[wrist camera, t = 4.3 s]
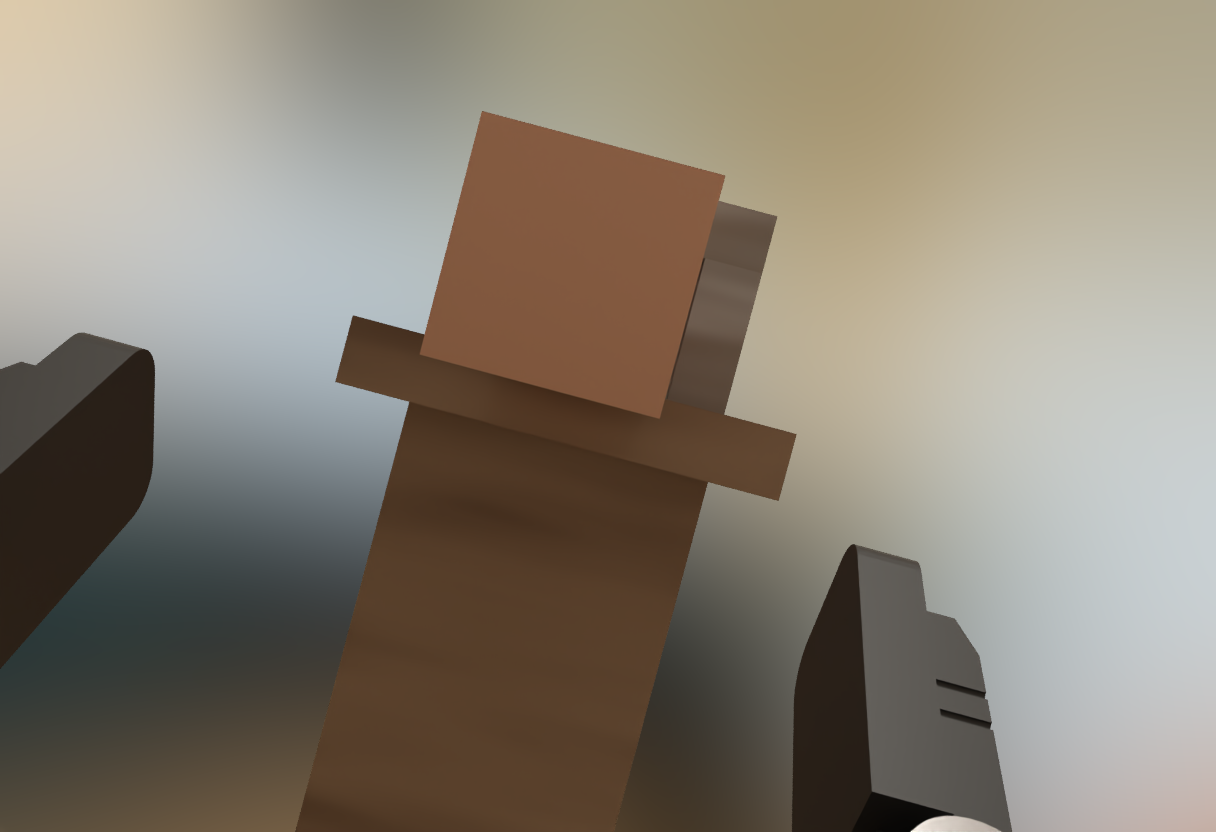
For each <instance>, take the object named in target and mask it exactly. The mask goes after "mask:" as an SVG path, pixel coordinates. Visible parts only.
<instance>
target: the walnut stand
mask: <svg viewBox="0 0 1216 832" xmlns="http://www.w3.org/2000/svg"><path fill="white" fill-rule="evenodd" d="M776 220H777V216H774V215H770V214H765V213H762V212H758V211H755V210H751V209H747V208H743V207H740V206H736V205H732V204H728V203H724V202H721V201H718V205H717V209H716V212H715V216H714V220H713V223H712V227H711V231H710V234H709V238H708V242H707V246H706V249H705V253H704V257H703V260H702V264H701V268H700V271H699V275H698V279H697V283H696V286H695V290H694V294H693V297H692V301H691V305H690V308H689V312H688V316H687V320H686V323H685V327H684V331H683V334H682V338H681V342H680V346H679V349H678V353H677V357H676V360H675V364H674V368H673V371H672V375H671V379H670V383H669V386H668V390H667V394H666V397H665V401H664V405H663V408H662V412H661V416H660V419H658V418H655V417H651V416H647V415H643V414H640V413H636V412H632V411H628V410H625V409H621V408H617V407H614V406H610V405H606V404H602V403H599V402H595V401H591V400H587V399H584V398H580V397H576V396H573V395H569V394H565V393H561V392H558V391H554V390H550V389H546V388H543V387H539V386H535V385H531V384H528V383H524V382H520V381H517V380H513V379H509V378H505V377H502V376H498V375H494V374H490V373H487V372H483V371H479V370H476V369H472V368H468V367H464V366H461V365H457V364H453V363H449V362H446V361H442V360H438V359H434V358H431V357H427V356H423V355H420V351H421V347H422V343H423V339H424V334H420V333H417V332H413V331H409V330H406V329H402V328H398V327H394V326H391V325H387V324H383V323H379V322H375V321H372V320H368V319H364V318H361V317H357V316H353V317H352V321H351V325H350V328H349V332H348V336H347V340H346V344H345V348H344V351H343V355H342V359H341V362H340V366H339V370H338V374H337V378H336V382H338V383H341V384H345V385H349V386H353V387H356V388H360V389H364V390H368V391H372V392H375V393H379V394H382V395H386V396H390V397H394V398H397V399H401V400H405V401H409V406H408V410H407V413H406V417H405V421H404V425H403V428H402V432H401V436H400V439H399V443H398V447H397V451H396V454H395V458H394V462H393V466H392V470H391V473H390V477H389V481H388V485H387V488H386V492H385V496H384V500H383V503H382V508H381V511H380V515H379V518H378V522H377V526H376V530H375V534H374V538H373V541H372V545H371V549H370V553H369V556H368V560H367V564H366V567H365V571H364V575H363V579H362V583H361V586H360V590H359V594H358V598H357V601H356V605H355V609H354V613H353V616H352V620H351V624H350V628H349V631H348V635H347V639H346V643H345V647H344V651H343V654H342V658H341V662H340V665H339V669H338V673H337V677H336V680H335V684H334V688H333V692H332V695H331V699H330V703H329V707H328V711H327V714H326V718H325V722H324V726H323V729H322V733H321V737H320V741H319V744H318V748H317V752H316V756H315V759H314V763H313V767H312V771H311V774H310V778H309V782H308V786H307V789H306V793H305V797H304V801H303V805H302V808H301V812H300V816H299V820H298V824H297V827H296V831H295V832H614V829H615V825H616V821H617V818H618V814H619V810H620V807H621V803H622V799H623V795H624V792H625V788H626V784H627V780H628V777H629V773H630V770H631V766H632V762H633V758H634V755H635V751H636V747H637V743H638V740H639V736H640V732H641V729H642V725H643V721H644V717H645V713H646V710H647V706H648V703H649V699H650V695H651V692H652V688H653V684H654V681H655V676H656V673H657V669H658V666H659V662H660V658H661V655H662V651H663V647H664V643H665V640H666V636H667V632H668V628H669V625H670V621H671V617H672V614H673V610H674V606H675V603H676V599H677V595H678V591H679V587H680V584H681V580H682V577H683V573H684V569H685V565H686V562H687V558H688V554H689V551H690V547H691V543H692V539H693V536H694V532H695V528H696V525H697V521H698V517H699V513H700V510H701V506H702V502H703V498H704V495H705V491H706V487H707V484H708V482H710V483H714V484H718V485H721V486H725V487H729V488H733V489H737V490H740V491H744V492H747V493H751V494H755V495H759V496H762V497H766V498H770V499H773V500H777V501H778V500H779V497H780V494H781V490H782V486H783V482H784V479H785V475H786V471H787V467H788V464H789V460H790V457H791V453H792V449H793V446H794V442H795V438H796V434H793V433H790V432H786V431H783V430H779V429H775V428H771V427H768V426H764V425H760V424H756V423H753V422H749V421H745V420H741V419H738V418H734V417H730V416H727V415H724V412H725V409H726V405H727V402H728V398H729V394H730V390H731V387H732V383H733V379H734V375H735V372H736V368H737V364H738V361H739V357H740V353H741V350H742V346H743V342H744V338H745V335H746V331H747V327H748V324H749V320H750V316H751V312H752V309H753V305H754V301H755V298H756V294H757V290H758V286H759V283H760V279H761V275H762V271H763V268H764V264H765V261H766V257H767V253H768V249H769V245H770V242H771V238H772V234H773V231H774V227H775V223H776Z"/></svg>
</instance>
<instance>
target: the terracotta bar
mask: <svg viewBox="0 0 1216 832" xmlns="http://www.w3.org/2000/svg"><path fill="white" fill-rule="evenodd" d="M724 179H725V175H721V174H717V173H714V172H710V171H706V170H702V169H698V168H694V167H691V166H687V165H683V164H679V163H676V162H672V161H668V160H664V159H661V158H657V157H653V156H649V155H646V154H642V153H638V152H634V151H631V150H627V149H623V148H619V147H616V146H612V145H608V144H604V143H600V142H597V141H593V140H589V139H585V138H581V137H578V136H574V135H570V134H567V133H563V132H559V131H555V130H552V129H548V128H544V127H540V126H536V125H533V124H529V123H525V122H521V121H518V120H514V119H510V118H506V117H503V116H499V115H495V114H491V113H487V112H484V111H482V113H481V117H480V121H479V125H478V129H477V133H476V137H475V141H474V144H473V149H472V152H471V156H470V160H469V164H468V168H467V172H466V176H465V180H464V183H463V187H462V191H461V195H460V199H459V203H458V207H457V211H456V215H455V218H454V223H453V226H452V230H451V234H450V238H449V242H448V246H447V250H446V253H445V257H444V261H443V265H442V269H441V273H440V277H439V281H438V285H437V289H436V292H435V297H434V300H433V305H432V308H431V312H430V316H429V320H428V324H427V328H426V331H425V335H424V339H423V343H422V347H421V351H420V355H423V356H427V357H431V358H434V359H438V360H442V361H446V362H449V363H453V364H457V365H461V366H464V367H468V368H472V369H476V370H479V371H483V372H487V373H490V374H494V375H498V376H502V377H505V378H509V379H513V380H517V381H520V382H524V383H528V384H531V385H535V386H539V387H543V388H546V389H550V390H554V391H558V392H561V393H565V394H569V395H573V396H576V397H580V398H584V399H587V400H591V401H595V402H599V403H602V404H606V405H610V406H614V407H617V408H621V409H625V410H628V411H632V412H636V413H640V414H643V415H647V416H651V417H655V418H658V419H660V416H661V412H662V408H663V405H664V401H665V397H666V394H667V390H668V386H669V383H670V379H671V375H672V371H673V368H674V364H675V360H676V357H677V353H678V349H679V346H680V342H681V338H682V334H683V331H684V327H685V323H686V320H687V316H688V312H689V308H690V305H691V301H692V297H693V294H694V290H695V286H696V283H697V279H698V275H699V271H700V268H701V264H702V260H703V257H704V253H705V249H706V246H707V242H708V238H709V234H710V231H711V227H712V223H713V220H714V216H715V212H716V209H717V205H718V201H719V197H720V194H721V190H722V186H723V183H724Z"/></svg>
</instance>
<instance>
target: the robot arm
mask: <svg viewBox="0 0 1216 832" xmlns="http://www.w3.org/2000/svg"><path fill="white" fill-rule="evenodd" d="M154 388H155V365H154V360H153V357H152V355H151V353H150V352H149V351H148V350H145V349H142V348H138V347H134V346H131V345H127V344H124V343H120V342H116V341H113V340H109V339H105V338H102V337H98V336H94V335H90V334H87V333H78V334H75V335H74V336H72V337H71V338H69V339H68V340H67V341H66V342H64V343H63V344H62V345H61V346H59V347H58V348H57V349H56V350H55V351H53V352H52V353H51V354H49V355H48V356H47V357H46V358H44V359H43V360H42V361H41V362H40V363H38V364H37V365H36V366H35V365H31V364H27V363H24V362H19V363H16V364H14V365H11V366H8V367H5V368H3V369H0V669H1V667H2V666H3V665H4V664H5V663H6V662H7V661H8V659H9V658H10V657H11V656H12V655H13V654H14V652H15V651H16V650H17V649H18V648H19V647H20V646H21V644H22V643H23V642H24V641H25V640H26V639H27V638H28V636H29V635H30V634H31V633H32V632H33V631H34V630H35V628H36V627H37V626H38V625H39V624H40V623H41V622H42V620H43V619H44V618H45V617H46V616H47V615H48V614H49V612H50V611H51V610H52V609H53V608H54V607H55V606H56V604H57V603H58V602H59V601H60V600H61V599H62V598H63V596H64V595H65V594H66V593H67V592H68V591H69V589H70V588H71V587H72V586H73V585H74V584H75V583H76V582H77V580H78V579H79V578H80V577H81V575H83V574H84V572H85V571H86V570H87V569H88V568H89V567H90V566H91V564H92V563H93V562H94V561H95V560H96V559H97V557H98V556H99V555H100V554H101V553H102V552H103V551H104V549H105V548H106V547H107V546H108V545H109V543H111V541H112V540H113V539H114V538H115V537H116V536H117V535H118V533H119V532H120V531H121V530H122V529H123V528H124V527H125V525H126V524H127V523H128V522H129V521H130V520H131V519H132V517H133V516H134V515H135V513H136V512H137V510H138V509H139V507H140V505H141V503H142V501H143V499H144V497H145V494H146V492H147V489H148V485H149V482H150V479H151V474H152V468H153V441H154V440H153V439H154V390H155V389H154ZM985 694H986V690H985V684H984V679H983V674H982V668H981V663H980V657H979V655H978V653H977V652H976V650H975V649H974V647H973V646H972V644H971V643H970V641H969V640H968V638H967V637H966V635H965V634H964V632H963V631H962V629H961V627H960V626H959V625H958V623H957V622H956V620H955V619H954V618H950V617H947V616H943V615H939V614H935V613H932V612H928V611H926V603H925V596H924V589H923V581H922V574H921V568H920V565H919V563H918V562H917V561H913V560H909V559H906V558H902V557H898V556H894V555H891V554H887V553H884V552H880V551H876V550H873V549H869V548H865V547H862V546H858V545H854V544H853V545H851V546H850V547H849V548H848V549H847V551H846V552H845V554H844V556H843V558H842V561H841V563H840V565H839V567H838V570H837V572H836V575H835V577H834V580H833V582H832V584H831V587H830V589H829V591H828V594H827V596H826V599H825V601H824V603H823V606H822V608H821V611H820V613H819V615H818V618H817V620H816V623H815V625H814V627H813V630H812V632H811V635H810V637H809V639H808V642H807V644H806V647H805V650H804V653H803V656H802V659H801V663H800V667H799V671H798V675H797V681H796V687H795V695H794V736H793V800H792V832H1012V828H1011V823H1010V818H1009V812H1008V807H1007V802H1006V796H1005V791H1004V786H1003V781H1002V775H1001V770H1000V765H999V759H998V753H997V749H996V744H995V738H994V732H993V730H990V727H991V723H992V721H991V716H990V711H989V706H988V700H986V699H985Z"/></svg>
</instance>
